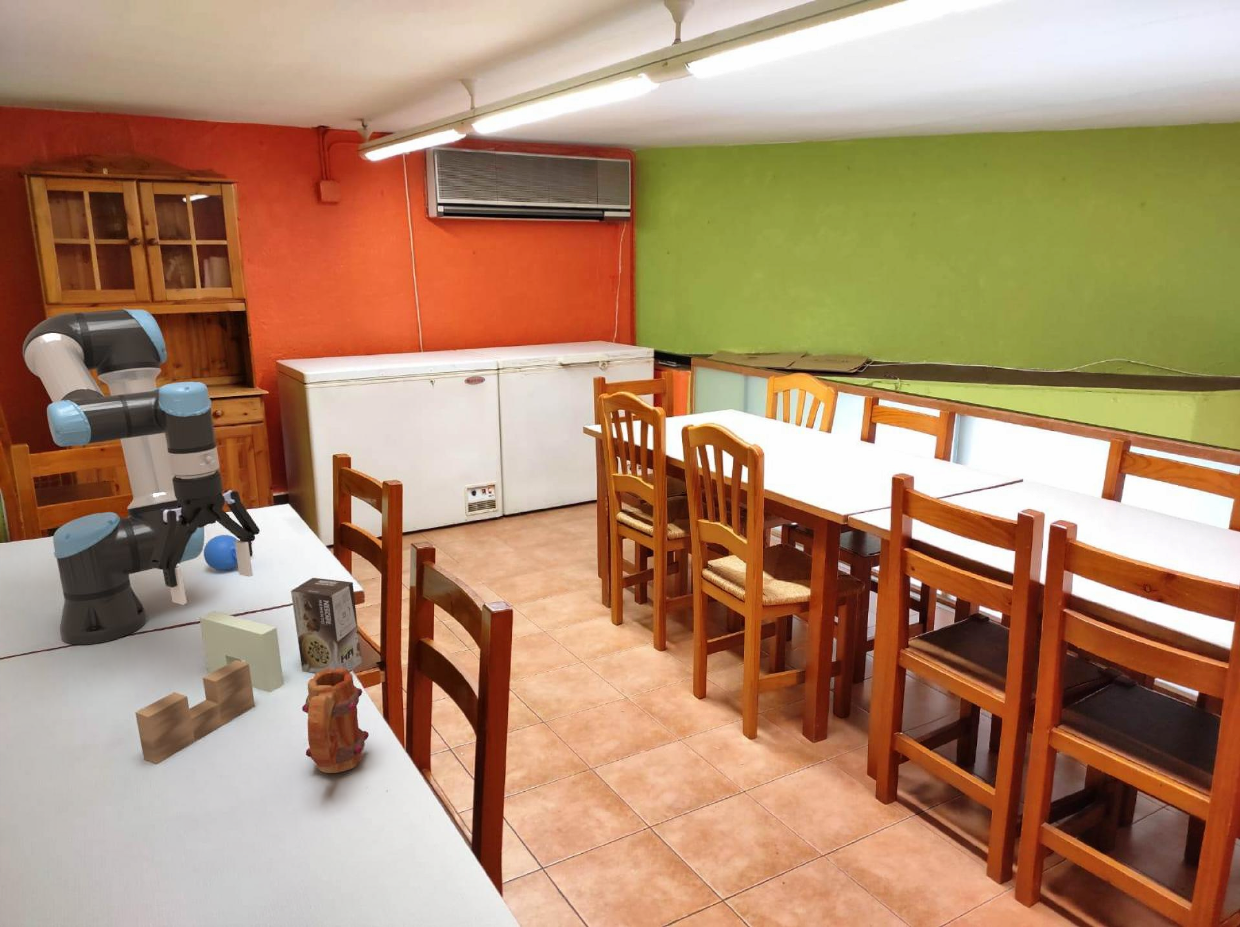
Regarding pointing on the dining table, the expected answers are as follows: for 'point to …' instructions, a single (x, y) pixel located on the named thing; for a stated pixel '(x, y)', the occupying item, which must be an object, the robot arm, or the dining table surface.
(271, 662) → the sage board
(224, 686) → the walnut board
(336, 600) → the coffee box
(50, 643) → the dining table surface
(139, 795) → the dining table surface
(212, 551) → the blue rubber bulb
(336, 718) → the mug
